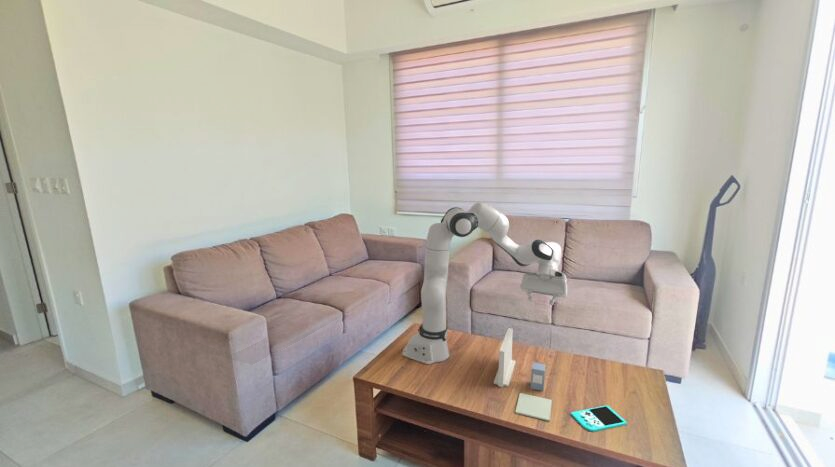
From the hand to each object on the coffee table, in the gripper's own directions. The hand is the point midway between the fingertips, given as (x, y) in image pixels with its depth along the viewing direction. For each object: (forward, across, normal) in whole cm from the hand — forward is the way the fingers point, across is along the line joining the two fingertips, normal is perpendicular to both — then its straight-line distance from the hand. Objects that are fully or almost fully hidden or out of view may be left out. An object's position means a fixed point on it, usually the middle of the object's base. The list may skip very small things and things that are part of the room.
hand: (540, 302), depth 166 cm
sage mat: (+43, +8, -3) cm, 44 cm away
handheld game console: (+40, +29, +3) cm, 49 cm away
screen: (+32, -10, +8) cm, 34 cm away
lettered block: (+34, +5, +7) cm, 35 cm away
